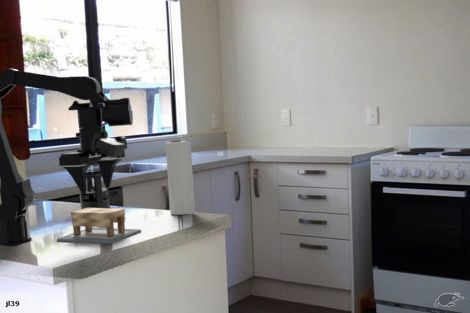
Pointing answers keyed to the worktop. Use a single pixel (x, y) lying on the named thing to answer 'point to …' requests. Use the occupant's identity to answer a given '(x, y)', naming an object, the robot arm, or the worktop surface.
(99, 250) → the worktop surface
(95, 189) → the french press
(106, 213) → the oak stool
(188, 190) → the paper towel roll
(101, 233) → the charcoal mat
